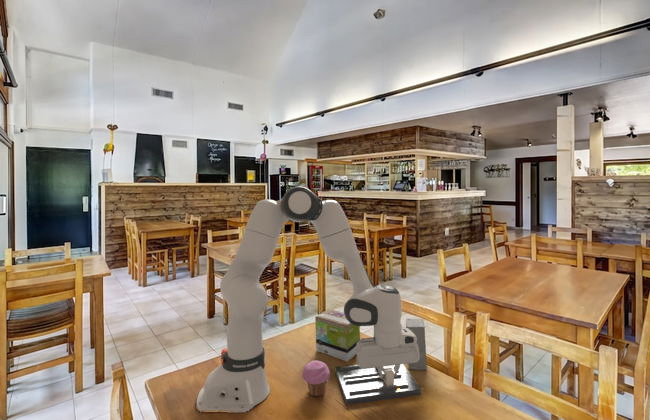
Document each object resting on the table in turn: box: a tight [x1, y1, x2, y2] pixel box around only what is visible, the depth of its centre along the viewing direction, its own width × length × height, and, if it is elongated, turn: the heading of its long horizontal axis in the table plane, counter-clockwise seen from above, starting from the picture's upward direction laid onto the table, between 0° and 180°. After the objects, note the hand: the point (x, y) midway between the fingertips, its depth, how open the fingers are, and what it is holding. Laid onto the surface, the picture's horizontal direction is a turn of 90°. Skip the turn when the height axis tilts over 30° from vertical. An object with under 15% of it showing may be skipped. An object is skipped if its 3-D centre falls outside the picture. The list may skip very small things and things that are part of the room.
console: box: [334, 363, 422, 406], centre depth 114 cm, size 24×18×7 cm
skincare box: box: [405, 318, 428, 371], centre depth 124 cm, size 8×7×16 cm
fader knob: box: [383, 366, 394, 386], centre depth 110 cm, size 2×4×5 cm, turn 9°
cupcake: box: [302, 359, 331, 397], centre depth 109 cm, size 9×9×10 cm
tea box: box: [314, 308, 361, 363], centre depth 135 cm, size 15×10×15 cm, turn 55°
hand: (388, 377), depth 110 cm, fingers closed on fader knob, 2 cm apart
